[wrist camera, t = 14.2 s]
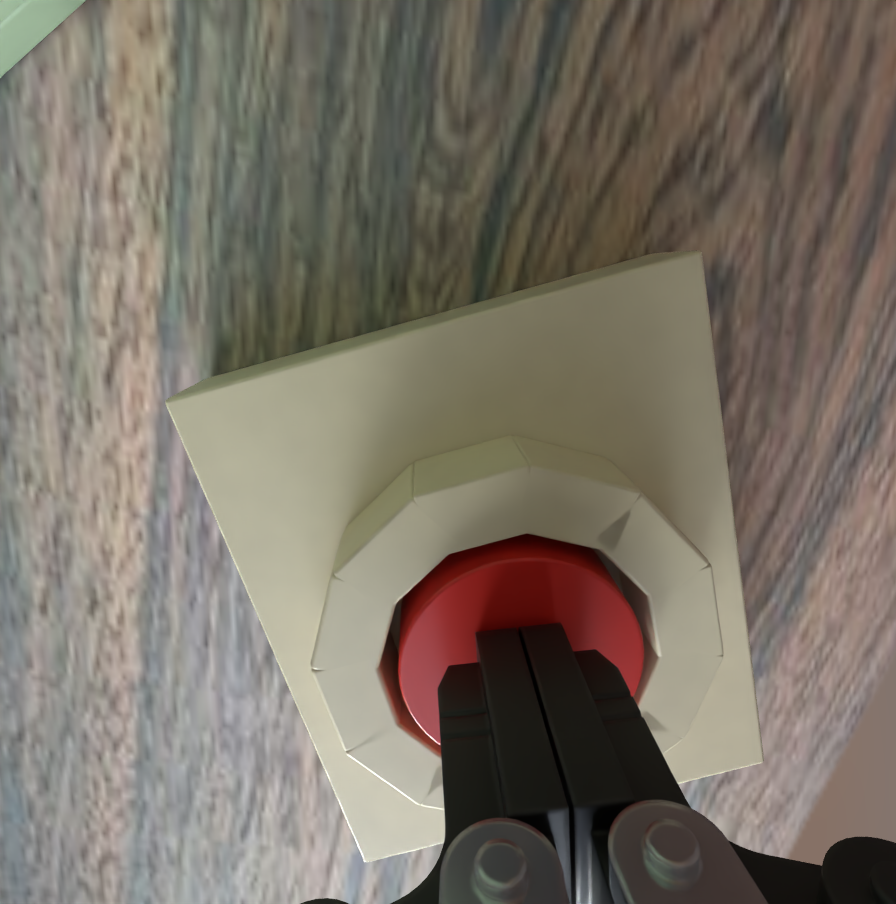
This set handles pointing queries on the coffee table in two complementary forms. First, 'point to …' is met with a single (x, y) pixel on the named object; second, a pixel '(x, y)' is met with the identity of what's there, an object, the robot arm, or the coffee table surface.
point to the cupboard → (28, 26)
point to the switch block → (484, 509)
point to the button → (510, 612)
